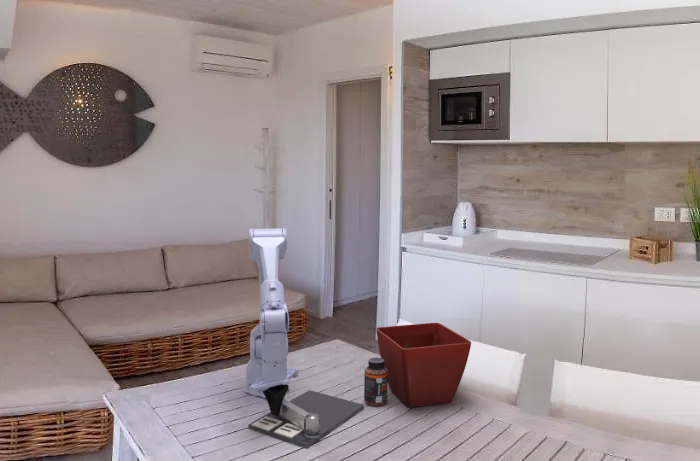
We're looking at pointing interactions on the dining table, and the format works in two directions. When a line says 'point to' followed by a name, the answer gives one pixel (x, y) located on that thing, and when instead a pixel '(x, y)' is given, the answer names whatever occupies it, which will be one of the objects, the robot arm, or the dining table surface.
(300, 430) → the label
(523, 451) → the dining table surface
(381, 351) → the plant pot
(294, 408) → the bar
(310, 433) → the grey rounded cylinder
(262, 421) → the label
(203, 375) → the dining table surface
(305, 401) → the tray
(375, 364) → the supplement bottle
